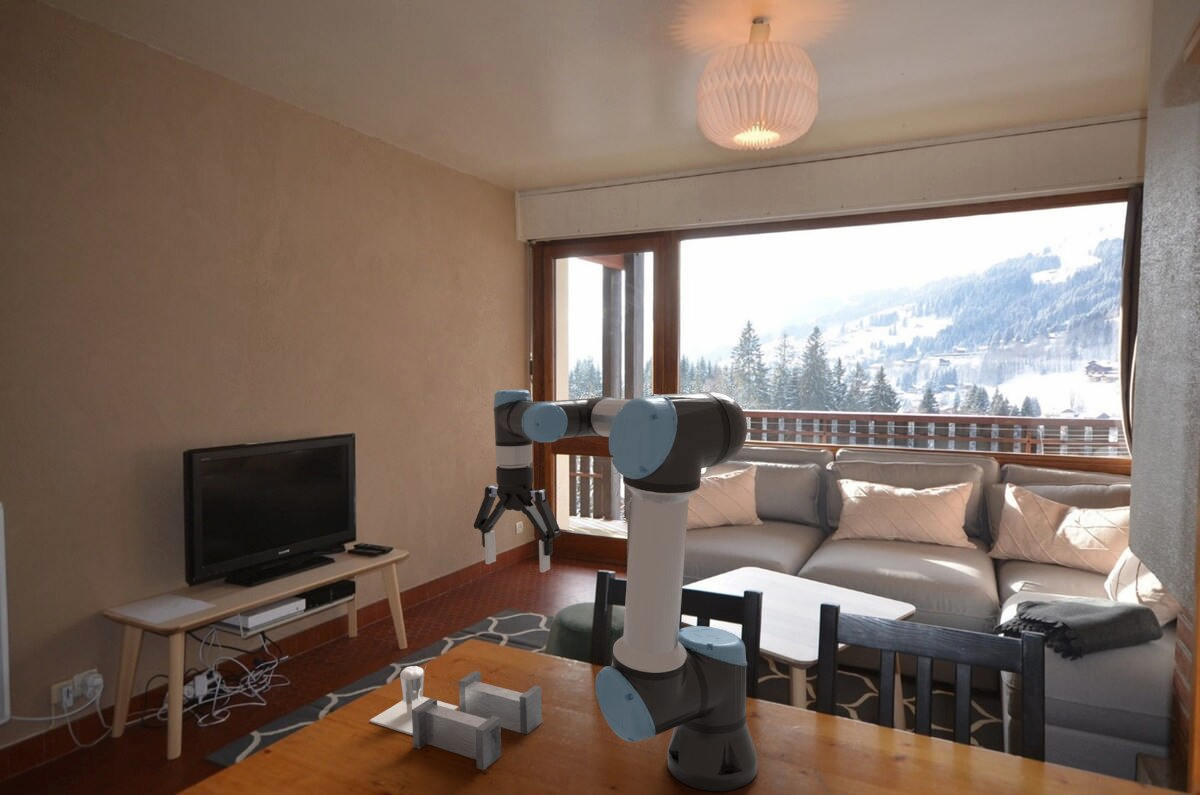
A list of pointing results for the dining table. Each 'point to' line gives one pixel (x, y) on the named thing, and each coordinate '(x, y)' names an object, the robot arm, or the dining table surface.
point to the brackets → (476, 719)
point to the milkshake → (412, 688)
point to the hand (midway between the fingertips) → (517, 566)
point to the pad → (401, 717)
